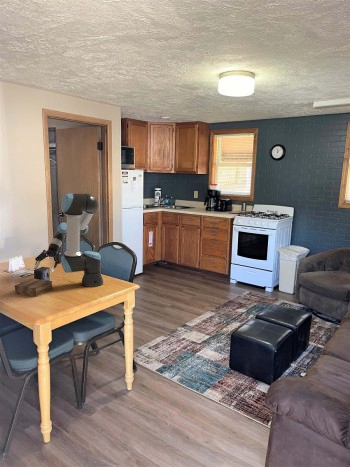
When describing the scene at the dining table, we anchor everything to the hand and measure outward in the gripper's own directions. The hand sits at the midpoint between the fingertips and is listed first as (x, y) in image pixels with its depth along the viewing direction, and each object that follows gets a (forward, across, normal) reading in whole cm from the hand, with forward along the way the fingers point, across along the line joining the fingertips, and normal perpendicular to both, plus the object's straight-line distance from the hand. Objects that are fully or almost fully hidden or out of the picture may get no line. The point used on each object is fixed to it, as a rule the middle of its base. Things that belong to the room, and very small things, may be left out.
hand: (43, 270), depth 244 cm
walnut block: (+20, -7, +8) cm, 23 cm away
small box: (+8, -1, -4) cm, 9 cm away
